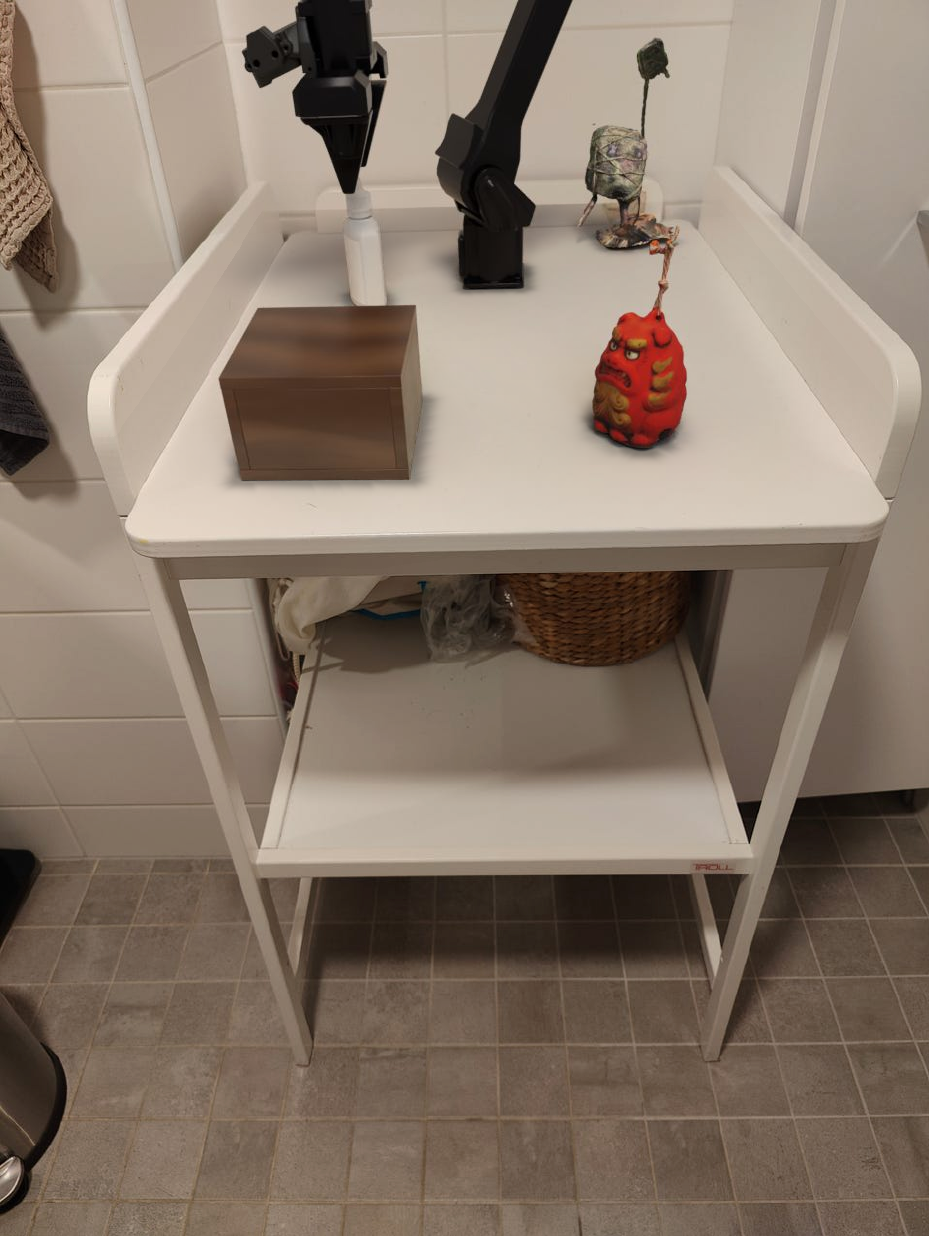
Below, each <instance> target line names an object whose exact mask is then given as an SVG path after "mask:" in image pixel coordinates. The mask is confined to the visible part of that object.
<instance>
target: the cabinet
mask: <svg viewBox="0 0 929 1236" xmlns="http://www.w3.org/2000/svg"><path fill="white" fill-rule="evenodd" d="M419 343H420V342H419V327H418V313H417V305H416V304H390V305H389V304H387V305H383V306H357V305H334V306H331V305H330V306H329V305H328V306H284V307H283V306H282V307H280V306H279V307H277V306H276V307H275V306H274V307H257V308H256V310H255V312H254V313H253V316H252V317H251V319H250V321H249V323H248V325H247V326H246V328H245V330H244V332H243V333H242V335H241V337H240V339H239V341H238V342H237V344H236V346H235V348H234V349H233V352H232V353H231V354H230V356H229V359H228V360H227V361H226V364H225V366H224V367H223V369H222V371H221V373H220V374H219V376H218V378H217V379H218V383H219V387H220V391H221V397H222V400H223V404H224V405H223V406H224V409H225V414H226V417H227V418H226V419H227V423H228V427H229V431H230V436H231V440H232V444H233V449H234V453H235V458H236V463H237V467H238V470H239V471H238V472H239V476H240V480H241V481H308V480H309V481H313V480H314V481H316V480H317V481H319V480H320V481H321V480H327V481H328V480H331V481H333V480H409V479H410V477H411V472H412V465H413V460H414V459H413V458H414V455H415V448H416V443H417V435H418V429H419V423H420V419H421V418H420V417H421V411H422V407H423V406H422V404H423V385H422V373H421V356H420V345H419Z"/></svg>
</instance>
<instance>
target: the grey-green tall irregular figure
mask: <svg viewBox="0 0 929 1236" xmlns="http://www.w3.org/2000/svg"><path fill="white" fill-rule="evenodd" d="M636 62H637V65H638V66H637V70H638V73H639V75H640V77H641V79H643V80H644V84H643V91H642V92H643V99H642V108H641V119H640V121H641V125H640V127H641V129H640V131H639V130H638V129H633V128H630V127H629V128H628V127H624V126H617V125H614V124H606V125H603V126H600V127H598V128H596V129H595V130H594V131H592V135H591V139H590V145H589V146H590V147H589V160H588V163H587V166H586V169H585V175H584V185H585V188H586V190H587V191H588V192H590V193H591V195H592V197H591V199H590V201H589V202H588V204H587V205H586V206H585V208H584V210H583V213H582V216H581V218H580V219H579V221H578V224H577V227H578V228H581V227H582V226H583V224H584V223H585V221H586V220H587V218H588V217H589V215H590V213H591V212H592V210H593V208H594V207H595V205H596V204H597V201H598V200H599V199H598V196H601V197H604V198H607V199H609V200H616V202H617V203H618V209H619V218H620V222H619V224H615V223H614V224H612V226H608V227H606V226H604V227H602V228H599V229H597V230H595V231H596V232H595V234H594V235H595V236H596V237H597V239H598V241H599V243H601V244H600V245H604V246H605V247H607V248H610V247H611V248H618V249H620V248H621V249H622V248H628V247H633V246H638V245H639V246H641V245H645V244H647V243H649V242H652V241H651V240H659V239H661V238H664V239H668V240H669V239H671V238H672V237H673V236H674V232H673V231H672V230H673V229H674V228H675V226H671V227H670V226H669V227H668V226H665V225H664V224H663V223H661V222H657V218H656V215H655V214H654V213H649V214H648V213H645V212H642V211H641V194H642V189H643V182H644V177H645V174H646V172H645V169H646V166H647V160H648V157H649V151H648V144H647V143H648V141H647V140H646V137H645V135H646V134H645V124H646V113H647V112H646V110H647V100H648V96H649V95H648V93H649V86H650V85H649V84H650V80H654V79H655V78H656V77H657V76H660V75H661V74H662V75H664V77H665V78H666V79H670V78H671V75H670V73H669V70H668V69H667V67H668V65H669V58H668V54H667V52H666V49H665V44H664V41H663V40H662V39H661V38H660V37H657V36H656V37H653V39H652V40H650V41H648V42H647V43H645V44H644V45H642V47H641V48H640V49H639V50H638V51H637V52H636ZM591 125H592V126H596V123H592V124H591ZM636 200H637V206H638V208H637V212H633V213H629V208H630V205H631V204H632V203H634V202H635V201H636ZM640 211H641V212H640Z"/></svg>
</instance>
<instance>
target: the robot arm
mask: <svg viewBox="0 0 929 1236" xmlns="http://www.w3.org/2000/svg"><path fill="white" fill-rule="evenodd" d="M573 1H574V0H517V1H516V4H515V7H514V10H513V11H512V15H511V17H510V19H509V23H508V25H507V27H506V29H505V33H504V35H503V38H502V40H501V43H500V45H499V48H498V51H497V53H496V55H495V59H494V61H493V63H492V66H491V68H490V71H489V74H488V76H487V79H486V82H485V84H484V87H483V89H482V92H481V94H480V97H479V100H478V101H477V103H476V104H475V106H474V107H473V108H472V109H471V110H470V112H468V114H466V116H464V117H462V116H460V115H458V114H456V113H454V112H453V113H451V114H450V116H449V118H448V121H447V125H446V129H445V133H444V136H443V139H442V142H441V143H440V145H439V146H438V147H437V148H436V150H435V151H434V154H435V155H436V156H438V157H439V158H438V162H437V166H436V177H437V179H438V182H439V185H440V188H441V189H442V190H443V192H444V193H445V194H446V195H447V196H449V197H450V198H452V199H453V202H454V204H455V205H454V206H455V208H456V209H457V212H459V213H462V214H463V218H462V219H463V221H462V229H459V231H458V236H457V253H458V254H457V257H458V276H459V277H460V278H463V279H462V287H463V288H464V289H491V288H492V289H494V288H495V289H496V288H522V287H524V286H525V267H524V266H525V263H524V228H528V227H530V226H531V225H532V221H533V218H534V215H535V211H536V207H537V205H536V204H535V202H534V201H532V200H531V198H530V197H529V196H527V194H526V193H524V191H523V190H522V189H521V188H519V187H518V186H517V184H516V183H515V182H516V179H517V174H518V171H519V167H520V162H521V157H522V155H521V152H522V127H523V124H524V123H523V122H524V120H525V117H526V115H527V112H528V110H529V107H530V106H531V103H532V101H533V98H534V96H535V93H536V91H537V89H538V86H539V84H540V81H541V78H542V76H543V74H544V72H545V69H546V66H547V64H548V62H549V59H550V57H551V54H552V52H553V49H554V47H555V45H556V42H557V40H558V37H559V35H560V33H561V30H562V28H563V25H564V23H565V20H566V17H567V15H568V14H569V12H570V8H571V6H572V3H573ZM372 7H373V0H299V1H298V2H297V5H295V7H294V13H295V20H294V21H292V22H290V23H288V24H287V25H284V26H282V27H281V28H279V29H276V30H274V31H273V32H272V30H270V28H269V27H267V26H266V25H262V26H261V27H259V28H257V29H256V30H254V31H250V32H248V34H246V35H245V40H246V41H245V42H246V47H244V48H243V49H242V50H241V54H242V55H243V59H244V66H243V67H244V69H245V71H246V72H248V73H249V74H251V75H252V76H253V78H254V80H255V82H256V85H257V87H258V88H259V89H262V88H265V87H268V86H270V85H271V84H272V83H273V81H274V80H275V79H278V78H280V77H282V76H284V75H286V74H288V73H289V72H292V71H294V70H296V69H297V68H300V67H301V73H302V74H303V75H302V77H301V78H300V79H299V81H298V82H297V83H296V85H295V86H294V88H293V89H292V91H291V95H292V102H293V108H294V116H295V117H296V118H299V120H300V121H301V122H302V124H303V125H305V126H308V127H310V128H311V129H312V130H314V131H315V132H316V133H317V134H318V135H319V136H321V137H320V138H322V141H323V143H324V146H325V148H326V151H327V153H328V156H329V159H330V161H331V164H332V168H333V170H334V173H335V175H336V179H337V182H338V183H339V187H340V189H341V192H342V193H343V194H344V195H346V194H354V193H355V190H356V186H357V181H358V178H360V172H361V169H362V168H366V167H367V164H368V161H369V156H370V152H371V147H372V144H373V141H374V136H375V132H376V127H377V123H378V120H379V116H380V113H381V108H382V105H383V104H382V103H383V101H384V96H385V91H386V87H387V85H388V81H387V80H386V79H387V78H388V75H389V62H388V52H387V50H386V49H385V48H384V47H383V46H382V44H380V42H378V41H377V40H375V41H373V34H372V33H373V31H372V22H371V21H372V19H371V9H372ZM372 75H378V76H379V79H373V78H372Z"/></svg>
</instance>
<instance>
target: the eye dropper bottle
mask: <svg viewBox="0 0 929 1236" xmlns="http://www.w3.org/2000/svg"><path fill="white" fill-rule="evenodd" d="M344 195H345V205H346V212H347V216H348V217H347V218H345V220H344V221H343V224H342V233H343V242H344V250H345V251H344V252H345V261H346V265H347V266H346V267H347V275H348V276H347V277H348V284H349V293H350V299H351V302H352V303H353V304H354V306H383V305H388V296H387V295H388V294H387V286H386V274H385V273H386V272H385V264H384V253H383V252H384V251H383V241H382V232H381V228H380V225H379V223H378V221H377V220H376V219H375V218H374V216H373V207H372V196H371V192H370V191H368V190H366V189H364V187H363V183H362V181H361V178H360V177H358V181H357V186H356V190H355V193H354V194H344Z"/></svg>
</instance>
